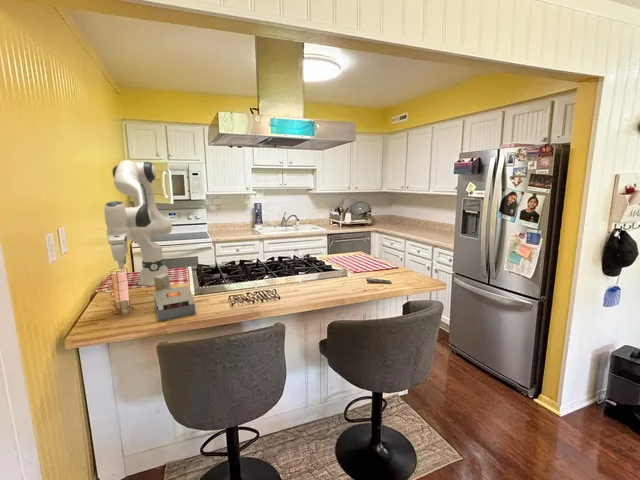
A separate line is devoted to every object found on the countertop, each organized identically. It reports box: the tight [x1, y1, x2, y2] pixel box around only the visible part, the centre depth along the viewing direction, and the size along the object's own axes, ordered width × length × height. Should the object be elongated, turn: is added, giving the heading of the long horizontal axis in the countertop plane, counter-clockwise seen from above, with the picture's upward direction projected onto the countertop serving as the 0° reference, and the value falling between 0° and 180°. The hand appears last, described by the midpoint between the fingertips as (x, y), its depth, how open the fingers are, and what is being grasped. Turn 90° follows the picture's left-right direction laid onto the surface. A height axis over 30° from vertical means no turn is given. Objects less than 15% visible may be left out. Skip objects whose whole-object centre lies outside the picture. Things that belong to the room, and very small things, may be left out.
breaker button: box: [168, 292, 179, 297], centre depth 165 cm, size 5×5×4 cm
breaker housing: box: [153, 285, 197, 323], centre depth 166 cm, size 20×16×8 cm
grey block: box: [119, 299, 131, 317], centre depth 162 cm, size 3×3×6 cm
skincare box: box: [154, 273, 171, 291], centre depth 183 cm, size 6×4×12 cm
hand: (123, 266), depth 160 cm, fingers open, 8 cm apart
